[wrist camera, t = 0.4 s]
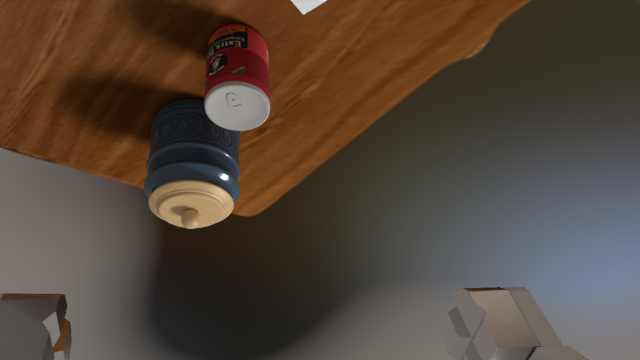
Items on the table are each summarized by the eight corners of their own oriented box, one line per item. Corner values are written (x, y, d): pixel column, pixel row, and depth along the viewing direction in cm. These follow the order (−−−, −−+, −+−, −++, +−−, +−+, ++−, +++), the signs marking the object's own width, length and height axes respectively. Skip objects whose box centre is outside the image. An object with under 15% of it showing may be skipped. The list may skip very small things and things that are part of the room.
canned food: (242, 11, 64) (242, 75, 58) (280, 52, 70) (283, 114, 64) (194, 40, 67) (189, 104, 61) (234, 77, 73) (233, 139, 67)
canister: (133, 120, 78) (116, 224, 68) (199, 82, 73) (193, 188, 63) (194, 162, 88) (188, 258, 78) (257, 131, 83) (259, 230, 73)
